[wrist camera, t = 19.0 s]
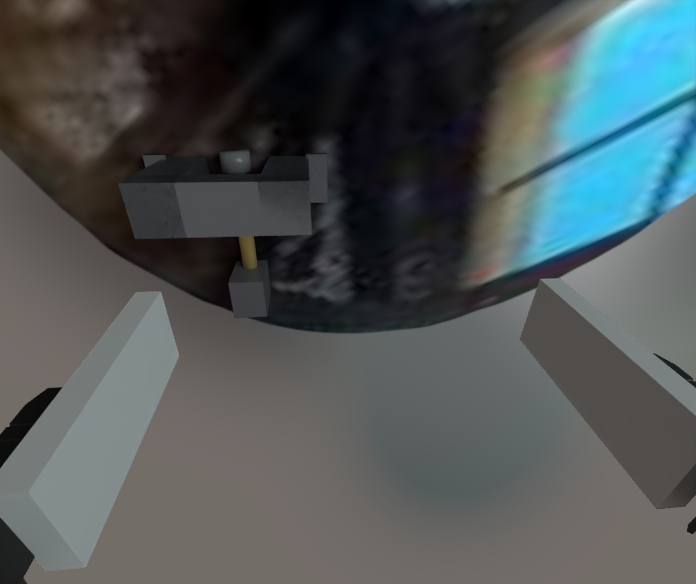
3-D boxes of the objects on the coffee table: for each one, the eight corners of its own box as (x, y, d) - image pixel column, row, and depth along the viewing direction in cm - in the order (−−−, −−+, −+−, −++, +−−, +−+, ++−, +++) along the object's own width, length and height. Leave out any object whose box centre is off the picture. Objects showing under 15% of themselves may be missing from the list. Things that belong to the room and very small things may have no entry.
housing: (145, 153, 40) (90, 180, 30) (326, 153, 42) (333, 177, 32) (157, 203, 43) (111, 242, 33) (327, 200, 45) (333, 236, 35)
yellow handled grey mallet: (218, 149, 41) (205, 159, 36) (254, 148, 41) (247, 159, 36) (241, 293, 50) (234, 317, 45) (270, 292, 51) (267, 316, 46)
